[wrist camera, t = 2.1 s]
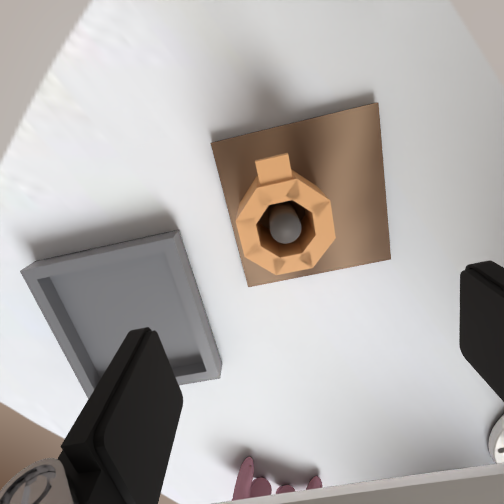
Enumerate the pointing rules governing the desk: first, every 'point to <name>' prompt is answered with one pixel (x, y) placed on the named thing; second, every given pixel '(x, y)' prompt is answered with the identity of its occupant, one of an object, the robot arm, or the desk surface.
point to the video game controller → (261, 483)
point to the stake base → (324, 177)
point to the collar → (312, 225)
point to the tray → (125, 306)
